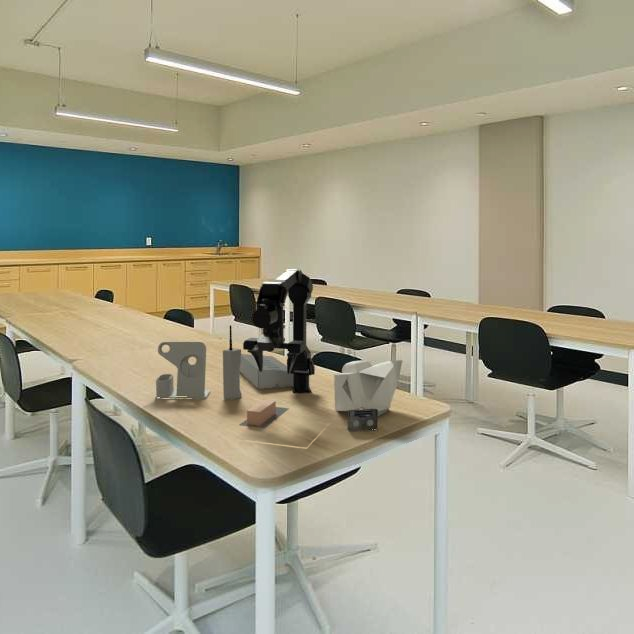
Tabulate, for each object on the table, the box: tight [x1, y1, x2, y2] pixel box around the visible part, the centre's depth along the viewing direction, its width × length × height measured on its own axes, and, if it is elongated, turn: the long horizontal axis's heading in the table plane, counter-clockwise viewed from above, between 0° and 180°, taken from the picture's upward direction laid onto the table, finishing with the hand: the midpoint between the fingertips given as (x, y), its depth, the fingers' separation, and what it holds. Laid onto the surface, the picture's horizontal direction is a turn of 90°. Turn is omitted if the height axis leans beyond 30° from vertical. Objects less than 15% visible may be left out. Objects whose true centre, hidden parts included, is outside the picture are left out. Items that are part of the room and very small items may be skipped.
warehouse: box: [239, 353, 293, 390], centre depth 219 cm, size 30×14×8 cm, turn 21°
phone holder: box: [155, 341, 211, 400], centre depth 194 cm, size 17×10×18 cm, turn 92°
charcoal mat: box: [239, 406, 290, 429], centre depth 171 cm, size 20×8×1 cm, turn 162°
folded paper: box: [333, 359, 403, 417], centre depth 177 cm, size 17×24×17 cm
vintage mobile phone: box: [222, 325, 243, 401], centre depth 190 cm, size 4×5×25 cm
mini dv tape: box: [347, 408, 379, 432], centre depth 160 cm, size 8×2×6 cm, turn 98°
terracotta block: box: [246, 399, 277, 426], centre depth 168 cm, size 4×4×12 cm
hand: (274, 372), depth 175 cm, fingers open, 9 cm apart
